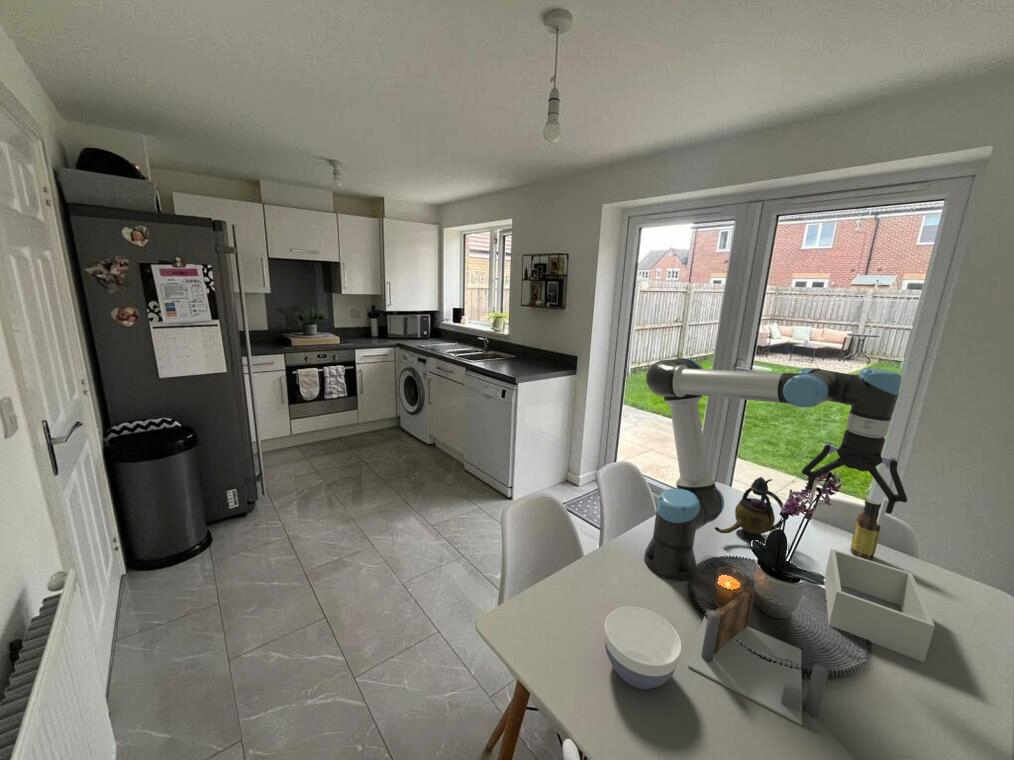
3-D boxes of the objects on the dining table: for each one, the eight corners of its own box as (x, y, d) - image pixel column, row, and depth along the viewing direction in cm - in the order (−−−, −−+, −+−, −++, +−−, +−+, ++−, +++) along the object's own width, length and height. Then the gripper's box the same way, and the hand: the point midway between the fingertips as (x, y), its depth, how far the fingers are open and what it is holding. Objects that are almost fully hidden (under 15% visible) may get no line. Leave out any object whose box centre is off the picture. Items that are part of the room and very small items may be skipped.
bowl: (667, 720, 80) (674, 680, 78) (590, 678, 88) (594, 640, 86) (681, 662, 93) (687, 626, 91) (613, 630, 101) (617, 596, 100)
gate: (714, 653, 95) (721, 615, 93) (708, 648, 96) (715, 610, 94) (748, 625, 104) (755, 589, 102) (742, 621, 105) (748, 585, 103)
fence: (688, 667, 92) (695, 621, 90) (706, 610, 110) (712, 570, 108) (819, 734, 79) (832, 683, 77) (815, 657, 97) (825, 613, 94)
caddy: (828, 625, 107) (836, 591, 105) (824, 577, 126) (830, 548, 124) (924, 662, 97) (934, 626, 95) (903, 604, 116) (911, 573, 114)
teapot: (784, 543, 144) (797, 482, 139) (728, 553, 136) (739, 488, 132) (755, 525, 155) (765, 468, 150) (701, 533, 147) (711, 473, 143)
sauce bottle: (858, 548, 143) (871, 496, 139) (878, 559, 137) (892, 505, 133) (844, 550, 142) (857, 497, 138) (863, 561, 136) (877, 506, 132)
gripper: (801, 422, 104) (783, 498, 109) (940, 452, 88) (912, 539, 93) (804, 417, 110) (787, 489, 114) (936, 444, 94) (909, 527, 99)
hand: (843, 512), depth 104 cm, fingers open, 13 cm apart
